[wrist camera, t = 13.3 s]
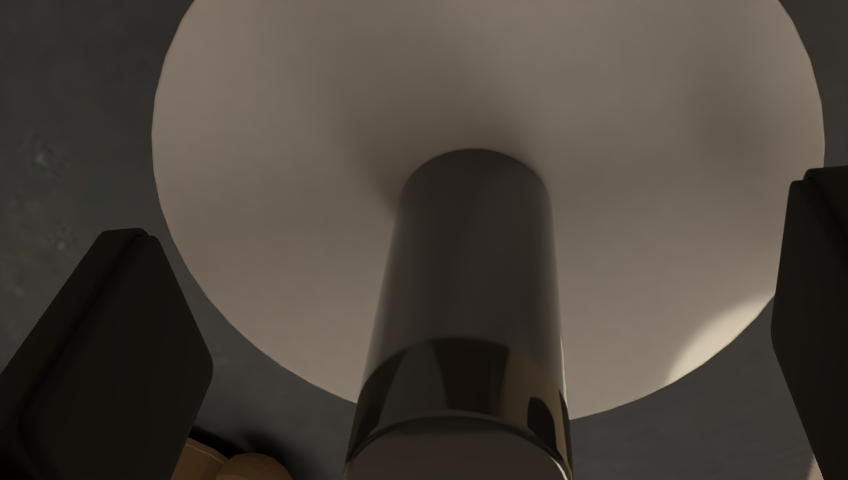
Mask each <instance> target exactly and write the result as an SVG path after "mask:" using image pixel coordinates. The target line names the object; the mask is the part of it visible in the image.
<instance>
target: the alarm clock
mask: <svg viewBox="0 0 848 480" xmlns="http://www.w3.org/2000/svg"><path fill="white" fill-rule="evenodd" d="M170 480H293V479H292V478H291V476H290V475H289V473H288V471H287V470H286V468H285V467H284V466H282V465H281V464H280V463H279V462H278V461H277V460H275V459H274V458H272V457H270V456H266V455H263V454H260V453H253V452H252V453H244V454H239V455H235V456H233V457H232V458H231V459H228V458H226V457H225V456H223V455H222V454H221V453H219V452H218V451H216V450H215V449H213V448H211V447H208V446H206V445H204V444H202V443H199V442H197V441H195V440H193V439H191V438H187V441H186V443H185V445H184V448H183V450H182V453H181V455H180V458H179V460H178V462H177V465H176V467H175V470H174V472H173V475H172V477H171V479H170Z"/></svg>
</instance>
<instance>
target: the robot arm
mask: <svg viewBox="0 0 848 480" xmlns="http://www.w3.org/2000/svg"><path fill="white" fill-rule="evenodd" d="M771 337H772V344H773V348H774V351H775V354H776V356H777V359H778V362H779V364H780V367H781V369H782V372H783V375H784V377H785V380H786V382H787V385H788V388H789V390H790V393H791V395H792V398H793V401H794V403H795V406H796V408H797V411H798V414H799V416H800V419H801V421H802V424H803V427H804V429H805V432H806V434H807V437H808V440H809V442H810V445H811V447H812V450H813V453H814V455H815V458H816V460H817V463H818V466H819V468H820V471H821V473H822V476H823V479H824V480H848V165H846V166H834V167H823V168H812V169H808V170H807V171H806V172H805V175H804V177H803V180H795V181H792V182H791V184H790V187H789V193H788V200H787V208H786V215H785V223H784V230H783V238H782V246H781V253H780V261H779V268H778V276H777V283H776V291H775V299H774V306H773V314H772V321H771ZM212 375H213V363H212V358H211V355H210V353H209V351H208V349H207V346H206V344H205V342H204V340H203V337H202V335H201V333H200V331H199V328H198V326H197V324H196V322H195V320H194V317H193V315H192V313H191V311H190V308H189V306H188V304H187V302H186V299H185V297H184V295H183V293H182V291H181V288H180V286H179V284H178V282H177V279H176V277H175V275H174V273H173V270H172V268H171V266H170V264H169V262H168V259H167V257H166V255H165V253H164V250H163V248H162V246H161V244H160V242H159V240H158V239H157V238H156V237H154V236H149V235H148V233H147V232H146V231H145V230H144V229H141V228H129V229H118V230H107V231H104V232H102V233H101V234H100V235H99V236H98V238H97V239H96V240H95V242H94V243H93V245H92V246H91V247H90V249H89V250H88V252H87V253H86V254H85V256H84V257H83V259H82V260H81V262H80V263H79V264H78V266H77V267H76V269H75V270H74V271H73V273H72V274H71V276H70V277H69V278H68V280H67V281H66V283H65V284H64V286H63V287H62V288H61V290H60V291H59V293H58V294H57V295H56V297H55V298H54V300H53V301H52V302H51V304H50V305H49V307H48V308H47V310H46V311H45V312H44V314H43V315H42V317H41V318H40V319H39V321H38V322H37V324H36V325H35V327H34V328H33V329H32V331H31V332H30V334H29V335H28V336H27V338H26V339H25V341H24V342H23V343H22V345H21V346H20V348H19V349H18V351H17V352H16V353H15V355H14V356H13V358H12V359H11V360H10V362H9V363H8V365H7V366H6V367H5V369H4V370H3V372H2V373H1V375H0V480H170V479H171V477H172V475H173V472H174V470H175V467H176V465H177V462H178V460H179V458H180V455H181V453H182V450H183V448H184V445H185V443H186V441H187V438H188V436H189V433H190V431H191V428H192V426H193V423H194V421H195V419H196V416H197V414H198V411H199V409H200V406H201V404H202V402H203V399H204V397H205V394H206V392H207V389H208V387H209V385H210V382H211V379H212Z"/></svg>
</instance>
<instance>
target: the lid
mask: <svg viewBox="0 0 848 480" xmlns="http://www.w3.org/2000/svg"><path fill="white" fill-rule="evenodd" d="M151 135H152V153H153V171H154V176H155V180H156V185H157V190H158V195H159V200H160V205H161V208H162V211H163V214H164V216H165V219H166V222H167V225H168V228H169V230H170V233H171V236H172V239H173V241H174V243H175V245H176V246H177V248H178V250H179V252H180V254H181V256H182V258H183V260H184V262H185V264H186V266H187V268H188V270H189V271H190V273H191V274H192V276H193V277H194V278H195V280H196V281H197V283H198V284H199V286H200V287H201V289H202V290H203V292H204V293H205V295H206V296H207V297H208V299H209V300H210V301H211V302H212V303H213V304H214V305H215V307H216V308H217V309H218V310H219V311H220V312H221V313H222V315H223V316H224V317H225V318H226V319H227V320H228V322H229V323H230V324H231V325H233V326H234V327H235V328H236V329H237V330H238V331H239V332H240V333H241V334H242V335H243V336H245V337H246V338H247V339H248V340H249V341H250V342H251V343H252V344H253V345H254V346H256V347H257V348H258V349H260V350H261V351H262V352H264V353H265V354H266V355H268V356H269V357H270V358H272V359H273V360H274V361H276V362H277V363H278V364H280V365H281V366H283V367H284V368H286V369H288V370H289V371H291V372H293V373H294V374H296V375H298V376H299V377H301V378H303V379H304V380H306V381H308V382H309V383H311V384H313V385H315V386H317V387H320V388H322V389H324V390H326V391H328V392H330V393H332V394H334V395H336V396H338V397H341V398H343V399H346V400H349V401H351V402H354V403H357V406H356V411H355V416H354V421H353V426H352V430H351V435H350V440H349V445H348V450H347V455H346V460H345V465H344V480H574V474H573V461H572V449H571V436H570V423H569V420H572V419H577V418H581V417H584V416H588V415H592V414H596V413H599V412H603V411H607V410H610V409H613V408H616V407H618V406H621V405H624V404H626V403H629V402H632V401H635V400H637V399H640V398H642V397H645V396H647V395H649V394H651V393H653V392H655V391H657V390H659V389H661V388H663V387H665V386H667V385H669V384H671V383H673V382H675V381H677V380H678V379H680V378H681V377H683V376H685V375H686V374H688V373H690V372H691V371H693V370H694V369H696V368H698V367H699V366H701V365H702V364H704V363H705V362H706V361H708V360H709V359H710V358H712V357H713V356H714V355H715V354H717V353H718V352H719V351H721V350H722V349H723V348H724V347H726V346H727V345H728V344H730V343H731V342H732V341H733V340H734V339H735V338H736V337H737V336H738V335H739V334H740V333H741V332H742V331H743V330H744V329H745V328H746V327H747V326H748V325H749V324H750V323H751V322H752V321H753V320H754V319H755V318H756V317H757V316H758V315H759V314H760V312H761V311H762V310H763V309H764V307H765V306H766V305H767V303H768V302H769V301H770V300H771V298H772V297H773V296H774V295H775V291H776V283H777V276H778V268H779V261H780V253H781V246H782V238H783V230H784V223H785V215H786V208H787V200H788V193H789V187H790V184H791V182H792V181H795V180H803V177H804V175H805V172H806V171H807V170H808V169H812V168H823V164H824V152H825V135H824V124H823V113H822V102H821V98H820V94H819V90H818V87H817V83H816V79H815V75H814V71H813V68H812V64H811V60H810V58H809V56H808V54H807V52H806V49H805V47H804V45H803V43H802V41H801V38H800V36H799V34H798V32H797V30H796V27H795V25H794V23H793V21H792V19H791V18H790V16H789V15H788V13H787V12H786V10H785V9H784V7H783V6H782V4H781V3H780V1H779V0H194V1H193V3H192V4H191V6H190V7H189V9H188V10H187V12H186V13H185V15H184V16H183V18H182V20H181V22H180V24H179V27H178V29H177V31H176V33H175V36H174V38H173V40H172V42H171V45H170V47H169V49H168V51H167V54H166V56H165V59H164V63H163V67H162V71H161V74H160V78H159V82H158V86H157V90H156V93H155V101H154V111H153V121H152V131H151Z"/></svg>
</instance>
